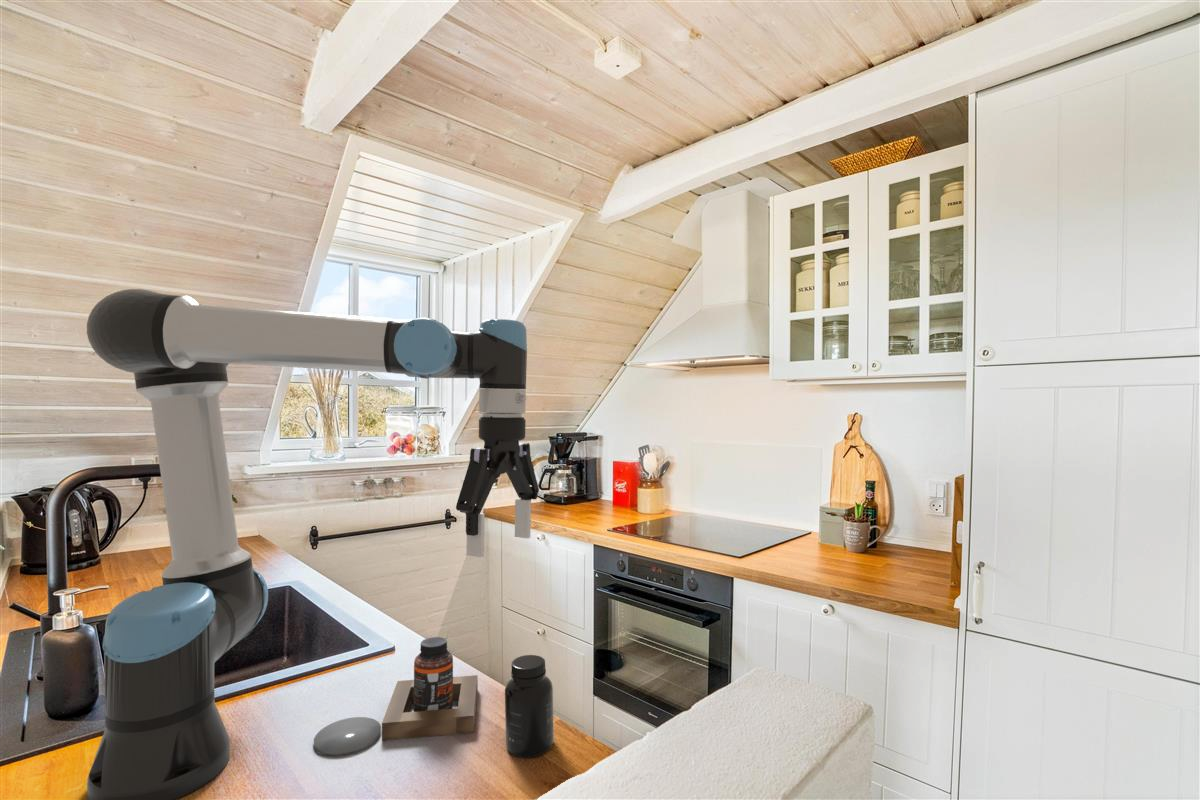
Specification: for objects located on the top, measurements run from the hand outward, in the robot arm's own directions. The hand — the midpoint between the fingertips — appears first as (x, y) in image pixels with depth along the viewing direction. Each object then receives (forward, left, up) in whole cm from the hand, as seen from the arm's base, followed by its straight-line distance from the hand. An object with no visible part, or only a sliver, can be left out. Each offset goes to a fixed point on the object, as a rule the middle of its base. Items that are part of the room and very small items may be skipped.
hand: (500, 546), depth 98 cm
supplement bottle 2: (+4, -13, -26) cm, 29 cm away
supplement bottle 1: (-10, -2, -26) cm, 28 cm away
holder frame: (-10, -2, -25) cm, 27 cm away
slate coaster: (-22, -7, -25) cm, 34 cm away
